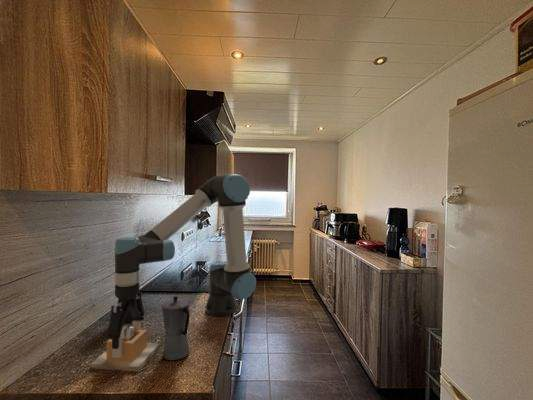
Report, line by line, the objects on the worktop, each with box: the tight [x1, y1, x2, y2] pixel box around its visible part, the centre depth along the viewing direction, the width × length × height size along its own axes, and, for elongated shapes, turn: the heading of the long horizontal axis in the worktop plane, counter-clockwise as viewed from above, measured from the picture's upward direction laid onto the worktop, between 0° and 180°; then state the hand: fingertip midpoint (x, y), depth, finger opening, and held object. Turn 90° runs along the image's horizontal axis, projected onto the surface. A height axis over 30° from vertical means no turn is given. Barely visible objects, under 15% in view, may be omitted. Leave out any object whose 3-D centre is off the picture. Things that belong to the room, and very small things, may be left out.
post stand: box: [90, 323, 161, 373], centre depth 96 cm, size 14×16×10 cm
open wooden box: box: [106, 329, 148, 362], centre depth 96 cm, size 9×9×6 cm
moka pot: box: [161, 296, 190, 361], centre depth 98 cm, size 10×15×20 cm, turn 51°
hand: (127, 347), depth 96 cm, fingers open, 11 cm apart
